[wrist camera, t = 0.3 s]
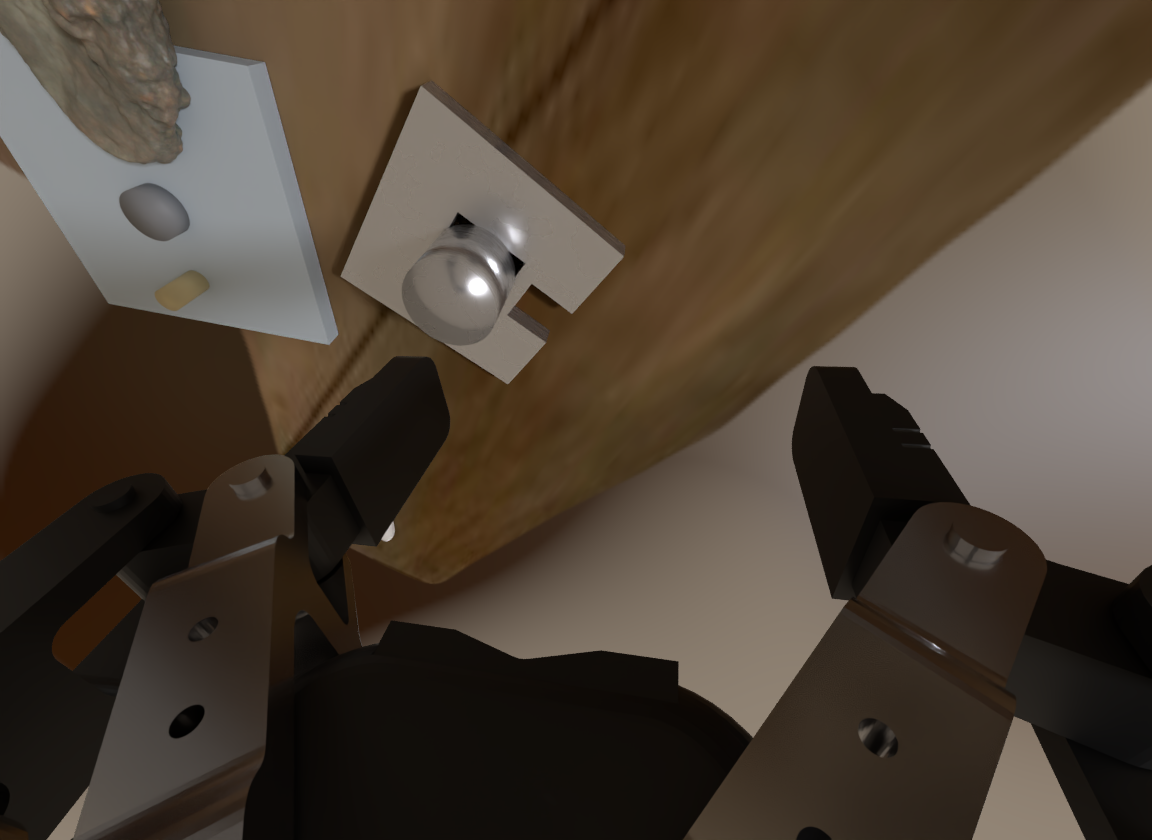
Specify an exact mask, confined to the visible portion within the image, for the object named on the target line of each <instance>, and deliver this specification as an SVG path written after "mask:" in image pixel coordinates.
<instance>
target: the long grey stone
mask: <svg viewBox="0 0 1152 840" xmlns="http://www.w3.org/2000/svg"><path fill="white" fill-rule="evenodd" d="M0 32H1V34H2V35H3V36H4V37H5V38H7V39H8V40H9V41H10V43H11V44H12V45H13V46H14V47H15V48H16V50H17V51H18V53H19V54H20V56H21V57H22V59H23V60H24V62H25V63H26V64H27V65H28V66H29V67H30V69H31V71H32V73H33V74H34V75H35V77H36V78H37V79H38V81H39V82H40V84H41V85H42V86H43V88H44V89H45V90H46V91H47V92H48V93H49V95H50V96H51V97H52V98H53V99H54V100H55V102H56V103H57V104H58V106H59V107H60V108H61V110H62V111H63V112H64V113H65V114H66V115H67V116H68V118H69V119H70V120H71V122H72V123H73V124H74V125H75V126H76V127H77V128H78V129H79V130H80V131H81V132H83V133H84V134H85V135H86V136H87V137H88V138H89V139H90V140H91V141H92V142H93V143H95V144H96V145H98V146H99V147H101V148H102V149H103V150H105V151H106V152H108V153H110V154H112V155H113V156H115V157H117V158H119V159H122V160H125V161H127V162H134V163H141V164H147V163H152V162H158V163H162V164H166V163H171V162H172V161H173V160H175V159H176V158H177V156H178V155H179V154H180V153H181V152H182V151H183V142H182V140H181V137H182V130H181V128H180V127H179V126H178V125H177V124H176V120H177V118H178V116H179V112H180V110H181V109H182V108H186V107H188V106H189V105H190V101H191V97H190V94H189V93H188V92H187V90H186V89H185V88H184V87H182V83H181V81H180V78H179V74H178V72H177V70H176V68H175V65H177V55H176V52H175V48H174V46H173V43H172V41H171V37H170V34H169V24H168V22H167V19H166V18H165V17H164V15H163V12H162V8H161V5H160V3H159V1H158V0H0Z"/></svg>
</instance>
